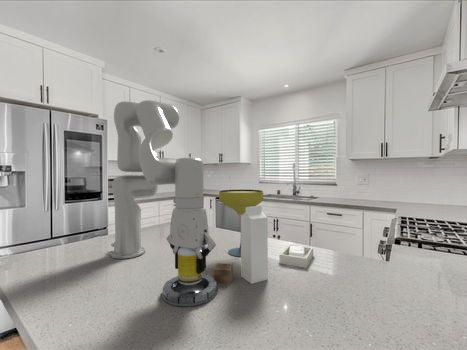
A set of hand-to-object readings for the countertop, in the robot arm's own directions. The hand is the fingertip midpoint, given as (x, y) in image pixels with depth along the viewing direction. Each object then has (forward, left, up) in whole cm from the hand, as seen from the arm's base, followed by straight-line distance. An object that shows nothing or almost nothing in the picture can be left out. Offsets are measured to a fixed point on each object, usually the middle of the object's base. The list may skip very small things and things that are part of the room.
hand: (190, 269), depth 65 cm
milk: (+12, +16, -6) cm, 21 cm away
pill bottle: (0, 0, -3) cm, 3 cm away
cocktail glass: (-2, +36, -6) cm, 37 cm away
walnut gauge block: (+4, +11, -6) cm, 13 cm away
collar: (0, 0, -6) cm, 6 cm away
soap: (+20, +39, -6) cm, 44 cm away
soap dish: (+20, +38, -6) cm, 43 cm away
